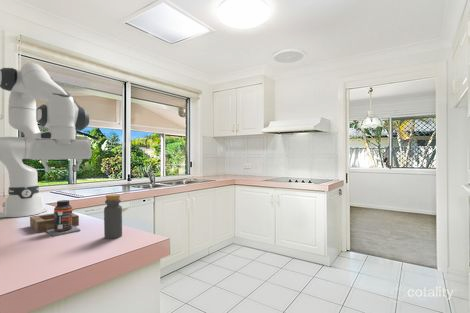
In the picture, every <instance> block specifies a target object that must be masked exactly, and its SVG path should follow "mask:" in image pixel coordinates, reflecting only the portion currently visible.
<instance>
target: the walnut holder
mask: <svg viewBox="0 0 470 313" xmlns="http://www.w3.org/2000/svg"><path fill="white" fill-rule="evenodd" d="M79 220H80V217H79V215H78V214H76V213H73V212H72V226H75V227H77V226H79V225H80V221H79ZM29 227H30V228H32V230H34V231H36V232H37V234H38V233H44V232H47V230H51V229H54V212H53V213H46V214H41V215H40V214H38V215H31V216H30V217H29Z"/></svg>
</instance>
